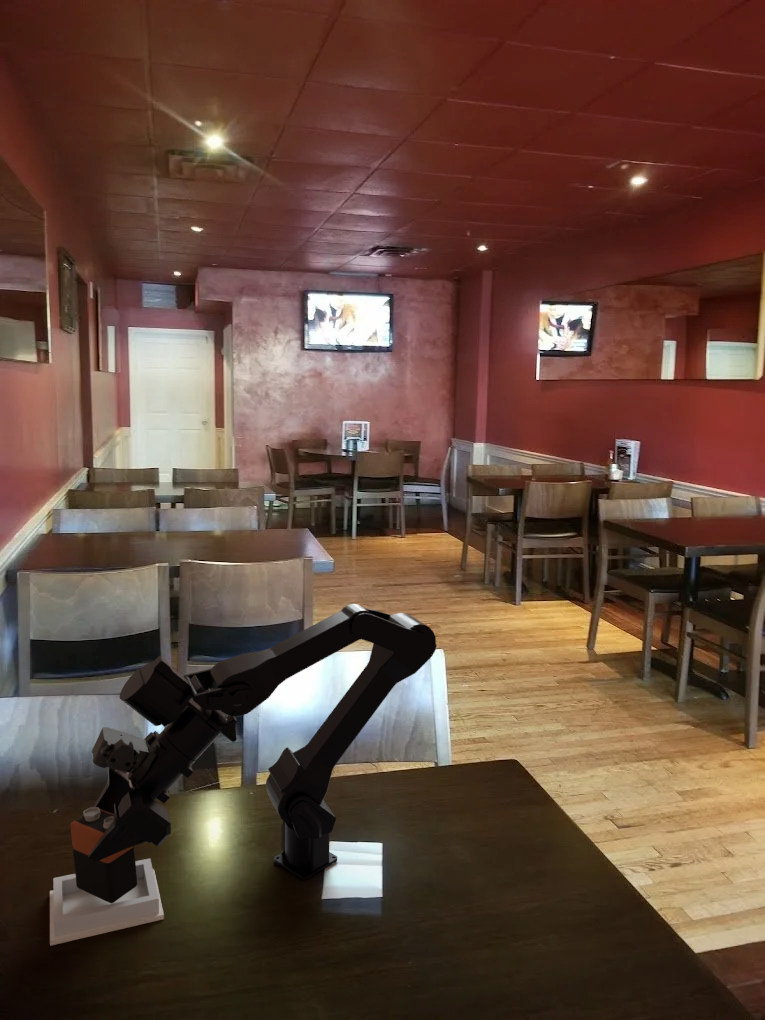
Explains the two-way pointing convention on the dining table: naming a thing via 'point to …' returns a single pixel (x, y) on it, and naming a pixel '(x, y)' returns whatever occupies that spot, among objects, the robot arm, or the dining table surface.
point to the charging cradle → (102, 907)
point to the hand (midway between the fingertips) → (89, 841)
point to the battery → (107, 874)
